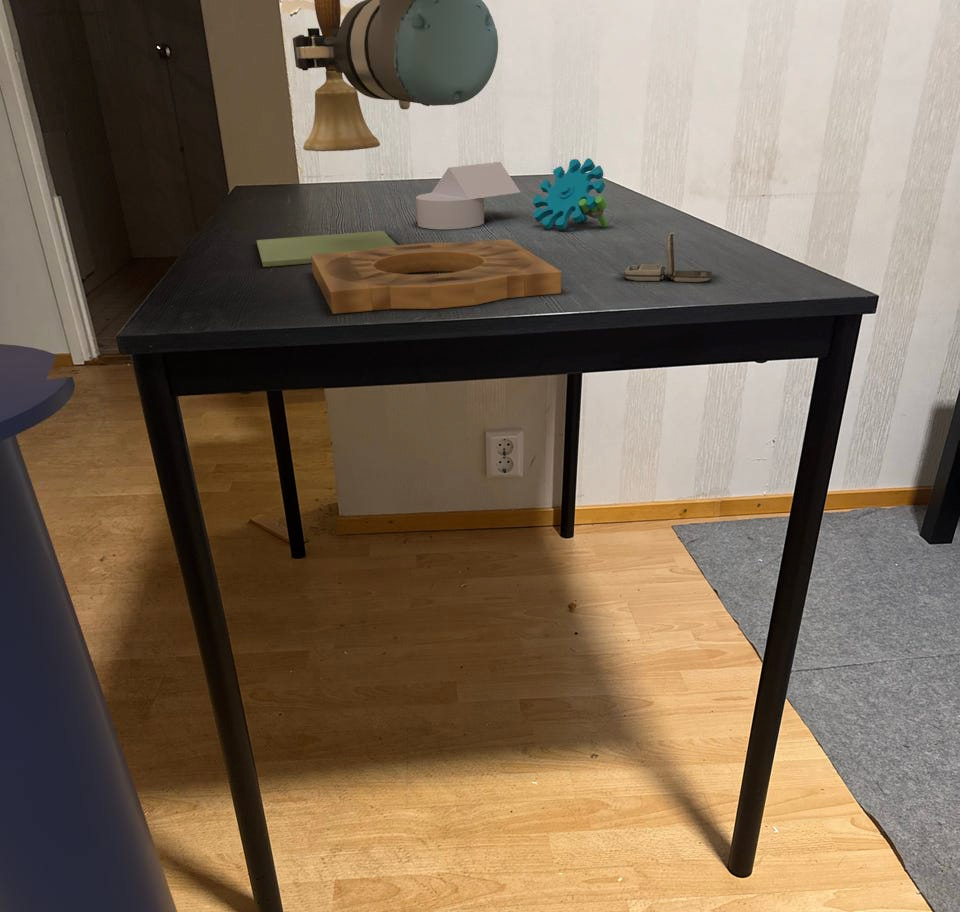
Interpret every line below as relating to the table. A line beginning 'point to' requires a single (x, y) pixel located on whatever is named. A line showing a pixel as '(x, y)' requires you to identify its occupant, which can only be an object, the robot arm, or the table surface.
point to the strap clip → (657, 271)
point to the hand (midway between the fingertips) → (317, 51)
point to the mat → (317, 246)
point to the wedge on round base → (463, 196)
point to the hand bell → (336, 100)
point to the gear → (572, 196)
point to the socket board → (431, 276)
